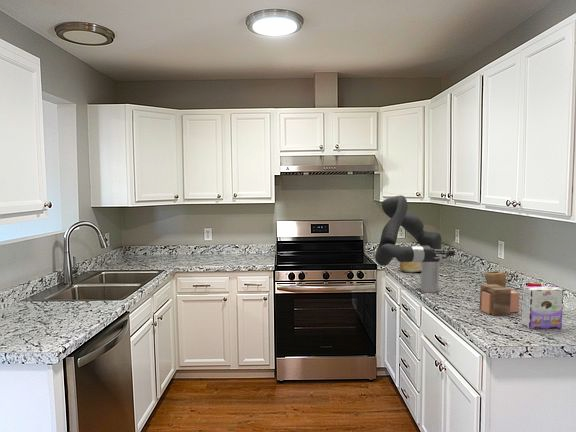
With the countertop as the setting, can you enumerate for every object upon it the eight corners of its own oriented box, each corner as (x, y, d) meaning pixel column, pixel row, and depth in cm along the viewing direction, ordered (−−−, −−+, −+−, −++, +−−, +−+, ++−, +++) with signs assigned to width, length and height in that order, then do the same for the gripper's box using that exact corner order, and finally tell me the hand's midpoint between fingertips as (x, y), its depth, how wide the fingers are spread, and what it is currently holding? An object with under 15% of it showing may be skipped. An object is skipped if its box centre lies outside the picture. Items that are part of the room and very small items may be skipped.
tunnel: (479, 309, 187) (480, 284, 186) (494, 308, 189) (495, 283, 188) (494, 316, 177) (495, 289, 177) (509, 315, 179) (511, 289, 178)
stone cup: (480, 295, 212) (481, 268, 211) (503, 296, 211) (504, 268, 210) (492, 303, 197) (493, 274, 196) (517, 304, 196) (518, 274, 195)
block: (481, 310, 184) (481, 291, 184) (510, 308, 188) (511, 290, 187) (488, 313, 180) (489, 294, 179) (518, 311, 183) (519, 292, 182)
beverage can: (526, 303, 197) (528, 280, 197) (541, 306, 194) (542, 282, 193) (524, 306, 193) (526, 282, 192) (539, 309, 189) (541, 284, 188)
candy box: (551, 323, 168) (554, 285, 167) (561, 328, 162) (564, 289, 161) (520, 323, 167) (522, 285, 166) (529, 328, 162) (531, 289, 160)
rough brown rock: (430, 270, 281) (429, 249, 281) (436, 273, 264) (435, 251, 265) (396, 270, 283) (396, 250, 284) (400, 273, 267) (400, 251, 267)
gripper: (427, 247, 169) (463, 247, 172) (411, 243, 182) (445, 242, 185) (427, 265, 169) (462, 263, 173) (411, 259, 182) (444, 258, 186)
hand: (453, 253), depth 179 cm, fingers closed
